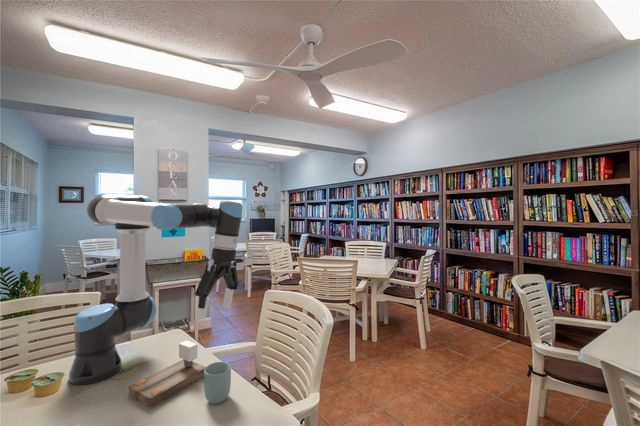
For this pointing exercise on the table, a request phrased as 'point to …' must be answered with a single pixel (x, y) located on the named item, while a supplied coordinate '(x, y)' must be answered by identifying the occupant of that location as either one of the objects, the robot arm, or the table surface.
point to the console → (165, 383)
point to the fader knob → (188, 352)
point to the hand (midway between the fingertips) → (214, 312)
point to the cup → (217, 382)
